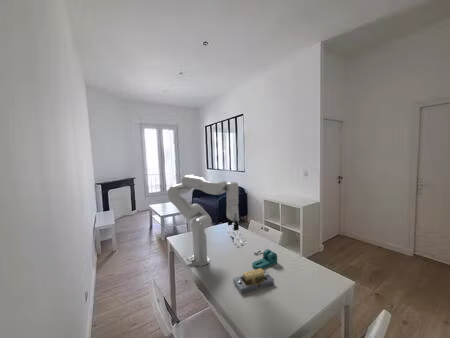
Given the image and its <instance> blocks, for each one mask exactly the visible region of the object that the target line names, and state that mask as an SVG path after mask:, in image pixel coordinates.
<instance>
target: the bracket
mask: <svg viewBox="0 0 450 338" xmlns="http://www.w3.org/2000/svg"><path fill="white" fill-rule="evenodd" d="M277 263H278V255H277V253H276V252H274V251H272V250H271V249H268V248H267V249H265V250H264V251H263V254H262V258H261V259H258V260H255V261H253V262H252V263H251V264H252V268H253V270H256V269H259V268H262V269H263V270H264V269H265V268H267V267H270V266H272V265H275V264H277Z"/></svg>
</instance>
